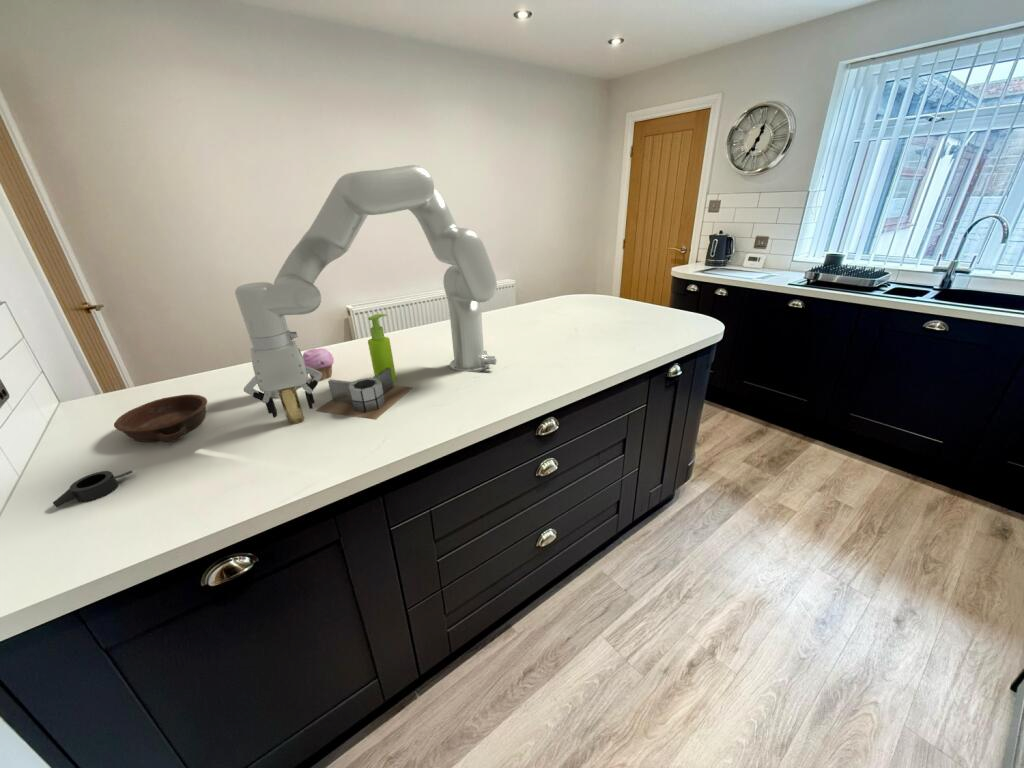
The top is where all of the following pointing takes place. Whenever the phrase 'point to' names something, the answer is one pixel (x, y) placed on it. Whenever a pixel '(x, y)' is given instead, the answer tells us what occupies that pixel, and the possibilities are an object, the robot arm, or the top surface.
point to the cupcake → (319, 361)
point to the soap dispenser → (380, 348)
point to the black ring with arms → (90, 488)
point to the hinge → (363, 391)
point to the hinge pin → (291, 405)
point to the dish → (163, 418)
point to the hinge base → (348, 410)
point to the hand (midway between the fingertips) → (293, 410)
